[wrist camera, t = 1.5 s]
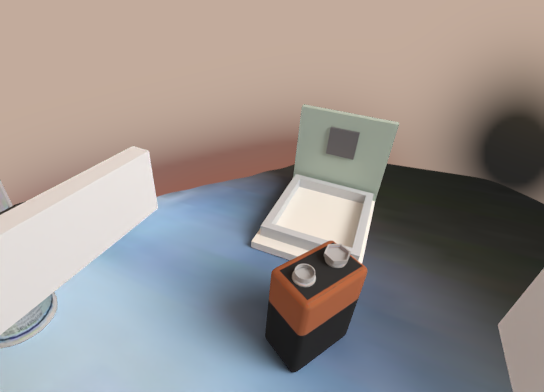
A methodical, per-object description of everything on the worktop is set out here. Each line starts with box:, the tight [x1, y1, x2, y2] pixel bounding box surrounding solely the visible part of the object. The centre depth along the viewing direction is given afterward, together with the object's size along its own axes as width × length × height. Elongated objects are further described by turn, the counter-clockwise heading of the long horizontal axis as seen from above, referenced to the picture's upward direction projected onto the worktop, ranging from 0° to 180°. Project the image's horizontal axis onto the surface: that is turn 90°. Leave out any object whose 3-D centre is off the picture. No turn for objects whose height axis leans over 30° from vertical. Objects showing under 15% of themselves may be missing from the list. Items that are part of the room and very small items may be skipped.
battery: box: [265, 241, 367, 372], centre depth 27 cm, size 4×7×10 cm, turn 126°
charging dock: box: [251, 104, 399, 264], centre depth 40 cm, size 17×13×13 cm
